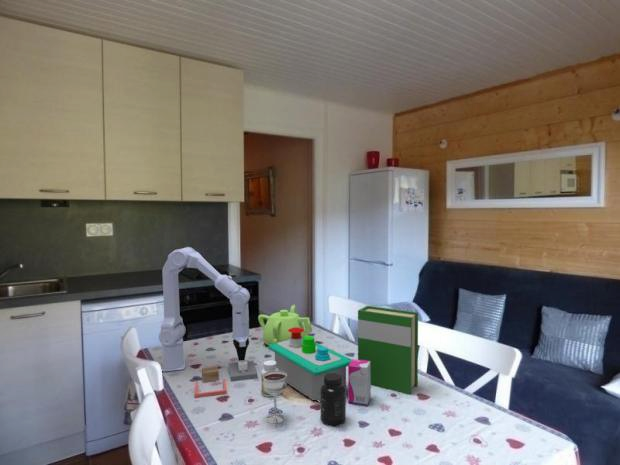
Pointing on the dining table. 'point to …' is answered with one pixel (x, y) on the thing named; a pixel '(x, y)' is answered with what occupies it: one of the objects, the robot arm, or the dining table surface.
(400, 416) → the dining table surface
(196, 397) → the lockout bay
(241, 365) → the switch
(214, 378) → the block
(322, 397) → the supplement bottle
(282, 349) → the control panel
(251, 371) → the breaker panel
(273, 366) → the supplement bottle
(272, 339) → the teapot
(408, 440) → the dining table surface
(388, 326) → the hardback book
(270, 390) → the wineglass
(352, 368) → the supplement box
